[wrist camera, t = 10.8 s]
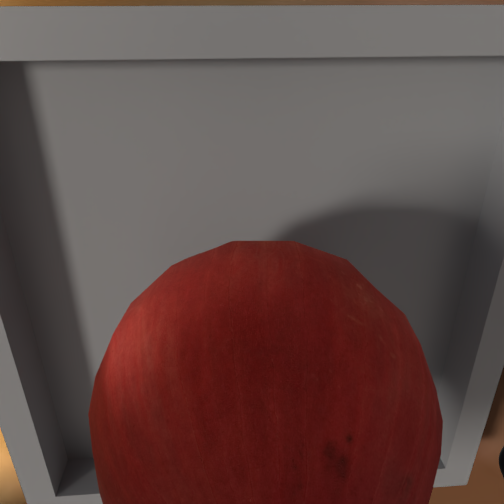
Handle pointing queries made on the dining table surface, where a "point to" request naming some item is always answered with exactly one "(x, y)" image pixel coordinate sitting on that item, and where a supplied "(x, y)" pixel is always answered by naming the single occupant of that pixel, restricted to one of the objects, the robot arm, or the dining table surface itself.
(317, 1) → the dining table surface
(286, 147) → the tray
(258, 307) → the onion
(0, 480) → the dining table surface
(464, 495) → the dining table surface
